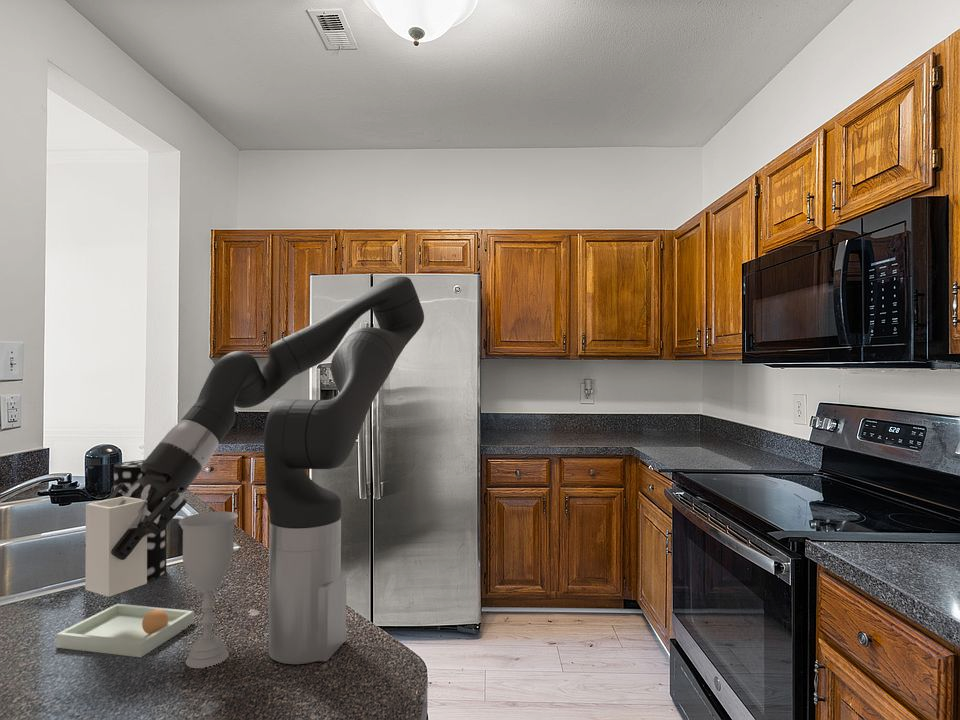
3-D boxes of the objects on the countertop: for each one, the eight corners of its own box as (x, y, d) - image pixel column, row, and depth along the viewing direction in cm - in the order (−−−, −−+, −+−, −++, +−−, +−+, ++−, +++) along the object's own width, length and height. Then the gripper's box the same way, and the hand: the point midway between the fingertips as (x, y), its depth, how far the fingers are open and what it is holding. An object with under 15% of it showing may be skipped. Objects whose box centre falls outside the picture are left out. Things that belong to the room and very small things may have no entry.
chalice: (212, 675, 71) (213, 527, 72) (163, 669, 73) (165, 524, 73) (247, 647, 79) (249, 513, 79) (202, 642, 80) (204, 510, 80)
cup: (146, 583, 85) (147, 500, 85) (108, 596, 80) (109, 508, 80) (123, 577, 87) (124, 496, 87) (85, 589, 82) (85, 504, 82)
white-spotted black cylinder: (132, 566, 110) (133, 459, 110) (175, 567, 109) (176, 460, 109) (101, 583, 101) (103, 467, 101) (148, 584, 101) (150, 467, 101)
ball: (174, 628, 82) (173, 606, 83) (157, 639, 79) (156, 615, 79) (154, 628, 83) (153, 605, 83) (136, 638, 80) (136, 614, 80)
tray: (193, 623, 86) (193, 611, 86) (140, 657, 76) (140, 643, 76) (117, 615, 88) (117, 603, 88) (56, 647, 78) (56, 633, 78)
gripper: (227, 473, 92) (154, 575, 81) (167, 466, 98) (92, 559, 87) (197, 444, 87) (115, 547, 76) (136, 437, 93) (53, 532, 83)
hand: (103, 553), depth 82 cm, fingers closed on cup, 5 cm apart
